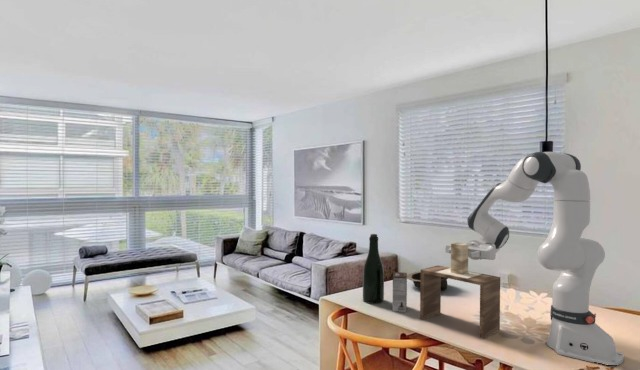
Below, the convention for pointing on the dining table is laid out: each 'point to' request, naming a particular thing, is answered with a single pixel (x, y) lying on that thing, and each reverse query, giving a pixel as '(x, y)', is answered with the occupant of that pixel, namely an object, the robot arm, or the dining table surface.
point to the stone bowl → (416, 280)
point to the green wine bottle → (373, 274)
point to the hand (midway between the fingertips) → (459, 253)
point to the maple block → (459, 258)
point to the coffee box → (399, 291)
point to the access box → (488, 283)
